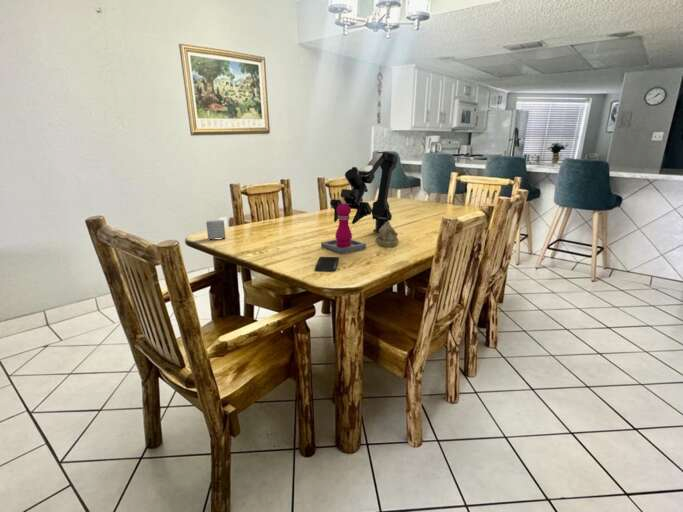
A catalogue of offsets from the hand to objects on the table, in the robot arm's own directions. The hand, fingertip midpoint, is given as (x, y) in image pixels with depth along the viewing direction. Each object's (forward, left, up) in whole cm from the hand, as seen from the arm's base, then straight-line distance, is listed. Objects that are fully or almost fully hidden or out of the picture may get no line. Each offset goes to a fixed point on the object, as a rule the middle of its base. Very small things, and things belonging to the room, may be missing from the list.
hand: (343, 222), depth 155 cm
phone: (+14, -19, -12) cm, 27 cm away
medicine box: (-50, -38, -12) cm, 64 cm away
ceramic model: (+6, +22, -12) cm, 25 cm away
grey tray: (0, 0, -11) cm, 11 cm away
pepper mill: (0, 0, -11) cm, 11 cm away
